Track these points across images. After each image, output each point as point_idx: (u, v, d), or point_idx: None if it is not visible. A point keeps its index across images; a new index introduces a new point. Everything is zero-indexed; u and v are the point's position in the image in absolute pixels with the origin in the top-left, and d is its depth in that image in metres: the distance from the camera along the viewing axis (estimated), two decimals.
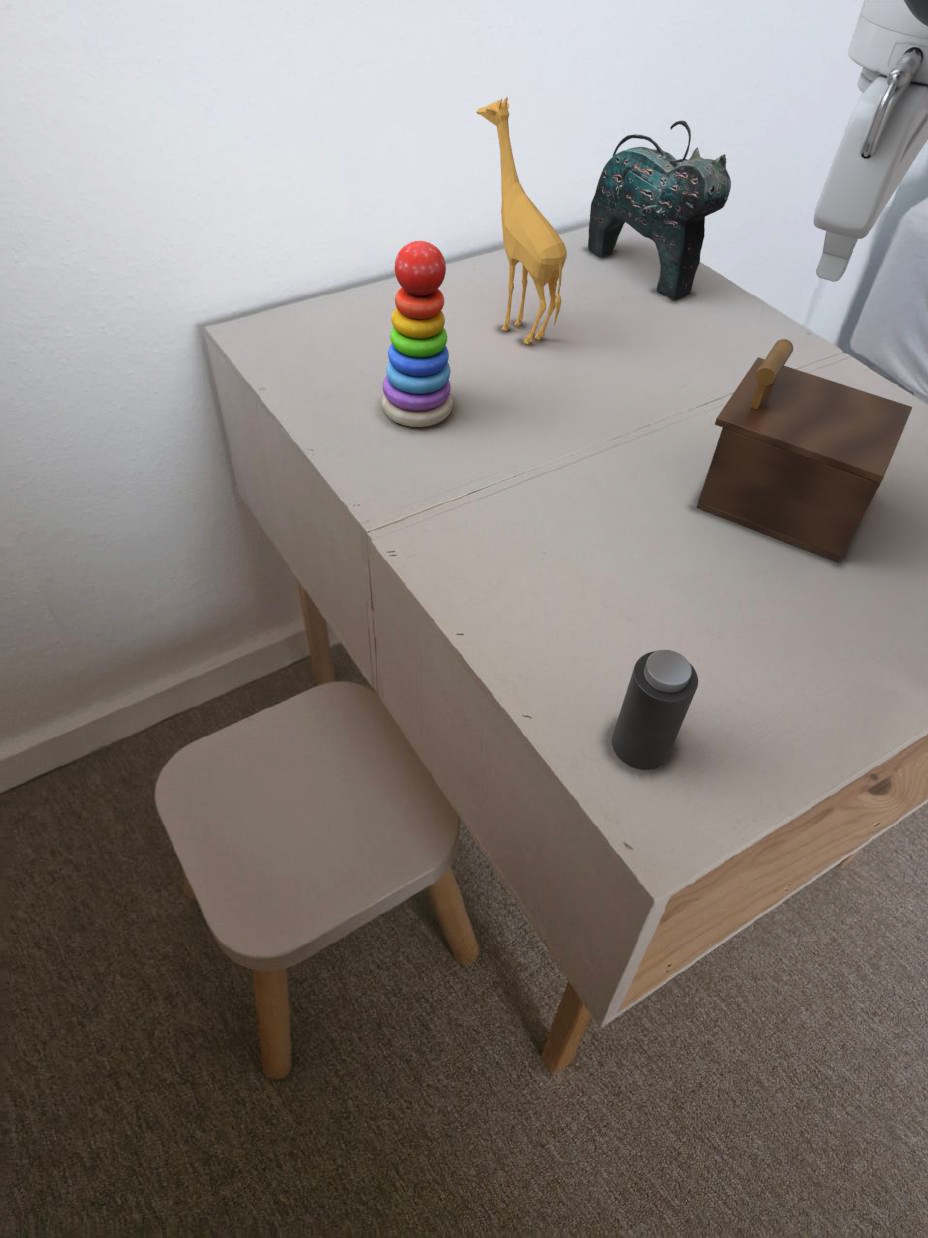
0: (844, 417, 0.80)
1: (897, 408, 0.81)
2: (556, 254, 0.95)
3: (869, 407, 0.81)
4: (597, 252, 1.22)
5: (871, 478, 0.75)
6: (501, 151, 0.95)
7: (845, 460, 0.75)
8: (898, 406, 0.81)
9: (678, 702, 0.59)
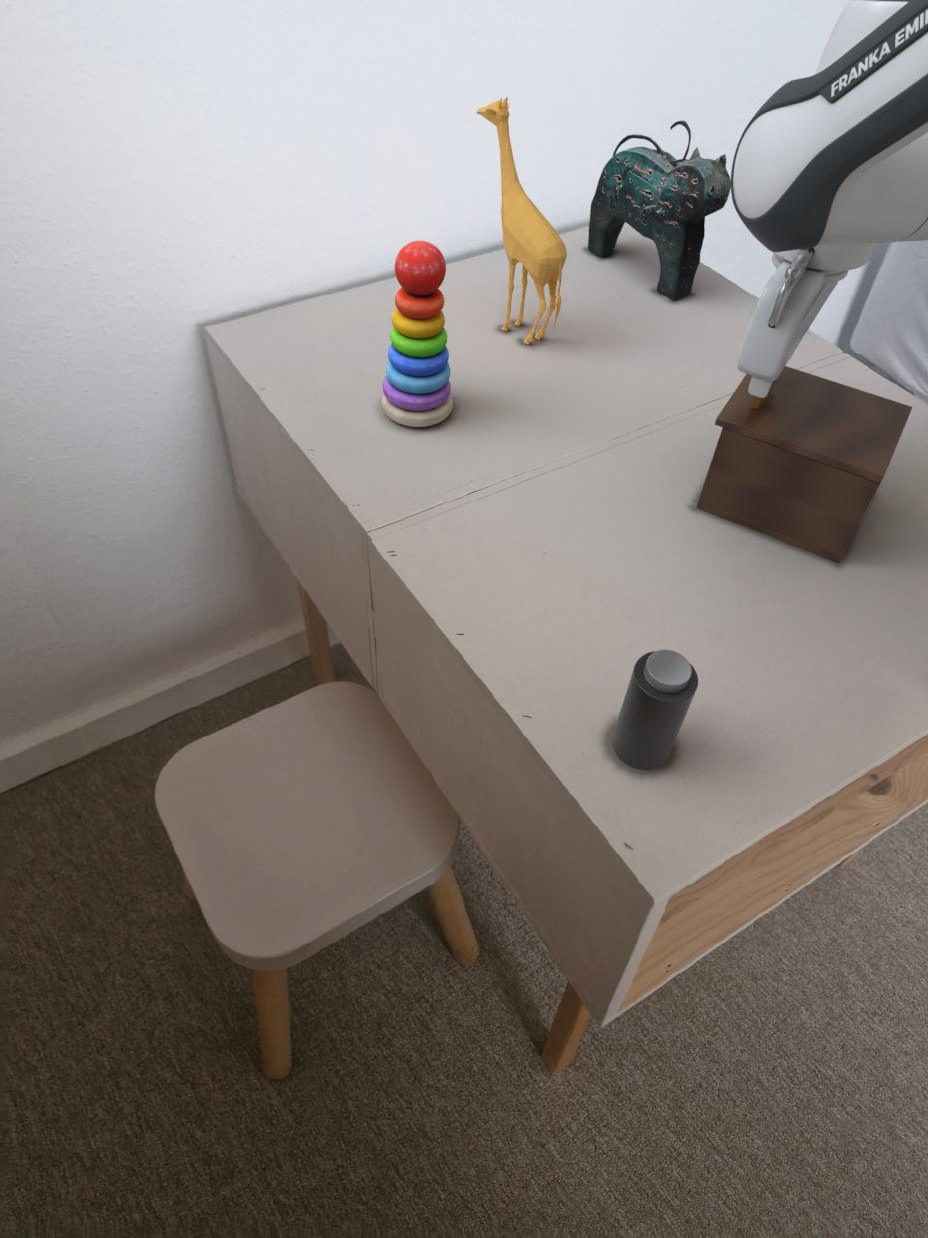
0: (844, 417, 0.80)
1: (897, 408, 0.81)
2: (556, 254, 0.95)
3: (869, 407, 0.81)
4: (597, 252, 1.22)
5: (871, 478, 0.75)
6: (501, 151, 0.95)
7: (845, 460, 0.75)
8: (898, 406, 0.81)
9: (678, 702, 0.59)
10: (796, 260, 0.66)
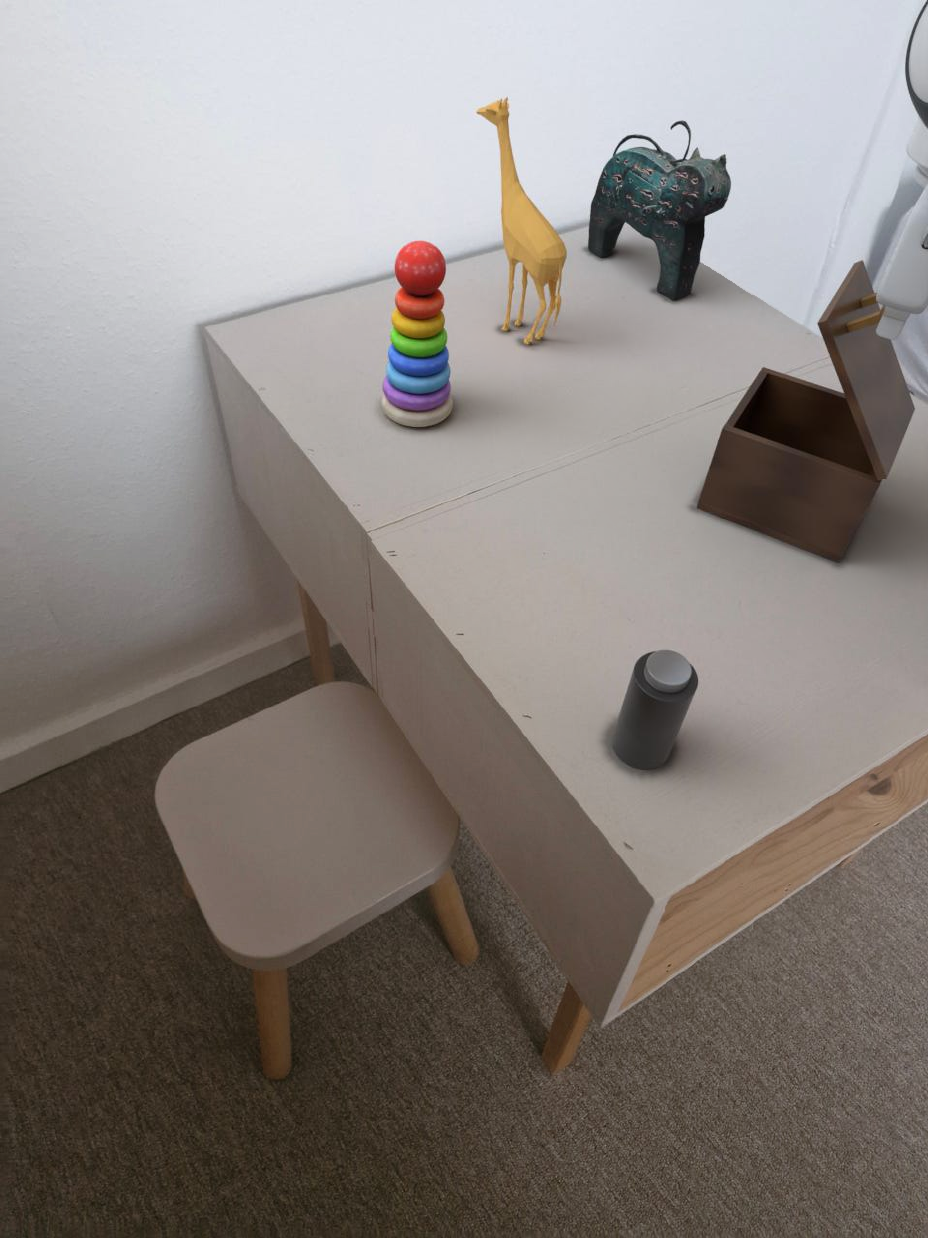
0: (885, 389, 0.76)
1: (909, 403, 0.80)
2: (556, 254, 0.95)
3: (898, 389, 0.78)
4: (597, 252, 1.22)
5: (876, 472, 0.74)
6: (501, 151, 0.95)
7: (875, 443, 0.73)
8: (910, 402, 0.80)
9: (678, 702, 0.59)
10: None
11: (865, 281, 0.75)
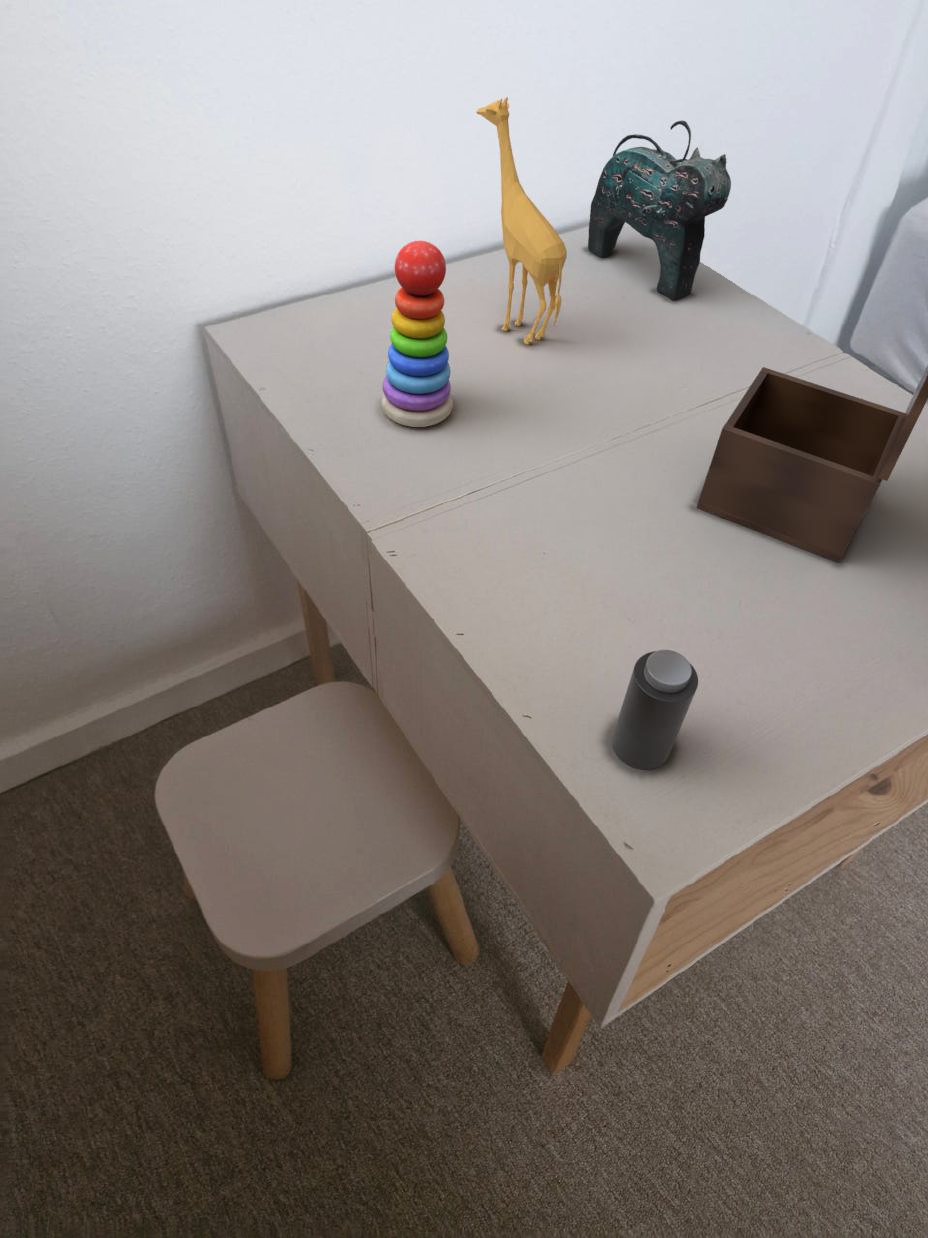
0: None
1: None
2: (556, 254, 0.95)
3: None
4: (597, 252, 1.22)
5: (883, 471, 0.74)
6: (501, 151, 0.95)
7: (903, 446, 0.72)
8: None
9: (678, 702, 0.59)
10: None
11: None
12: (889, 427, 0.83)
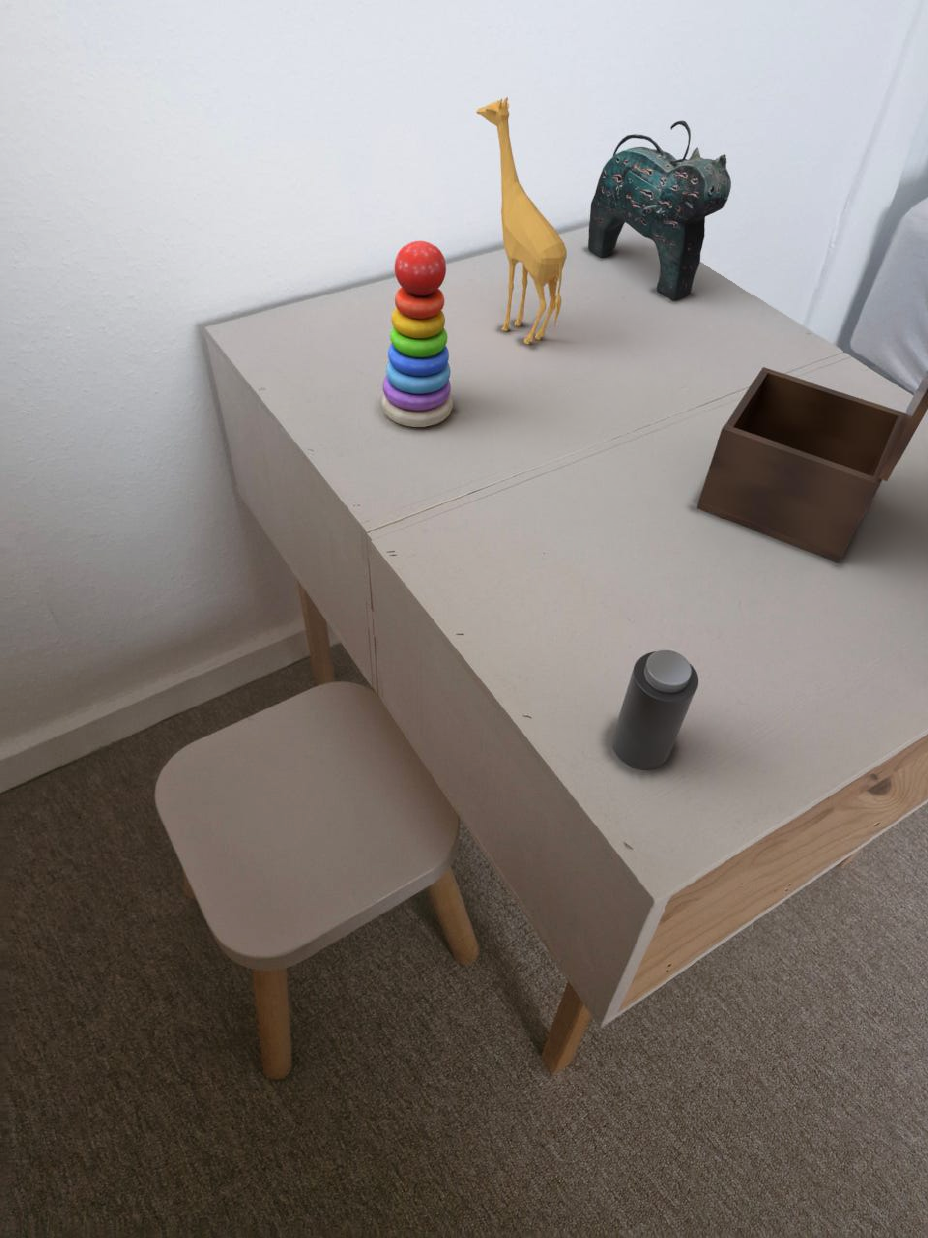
0: None
1: None
2: (556, 254, 0.95)
3: None
4: (597, 252, 1.22)
5: (884, 471, 0.74)
6: (501, 151, 0.95)
7: (905, 447, 0.72)
8: None
9: (678, 702, 0.59)
10: None
11: None
12: (889, 427, 0.83)
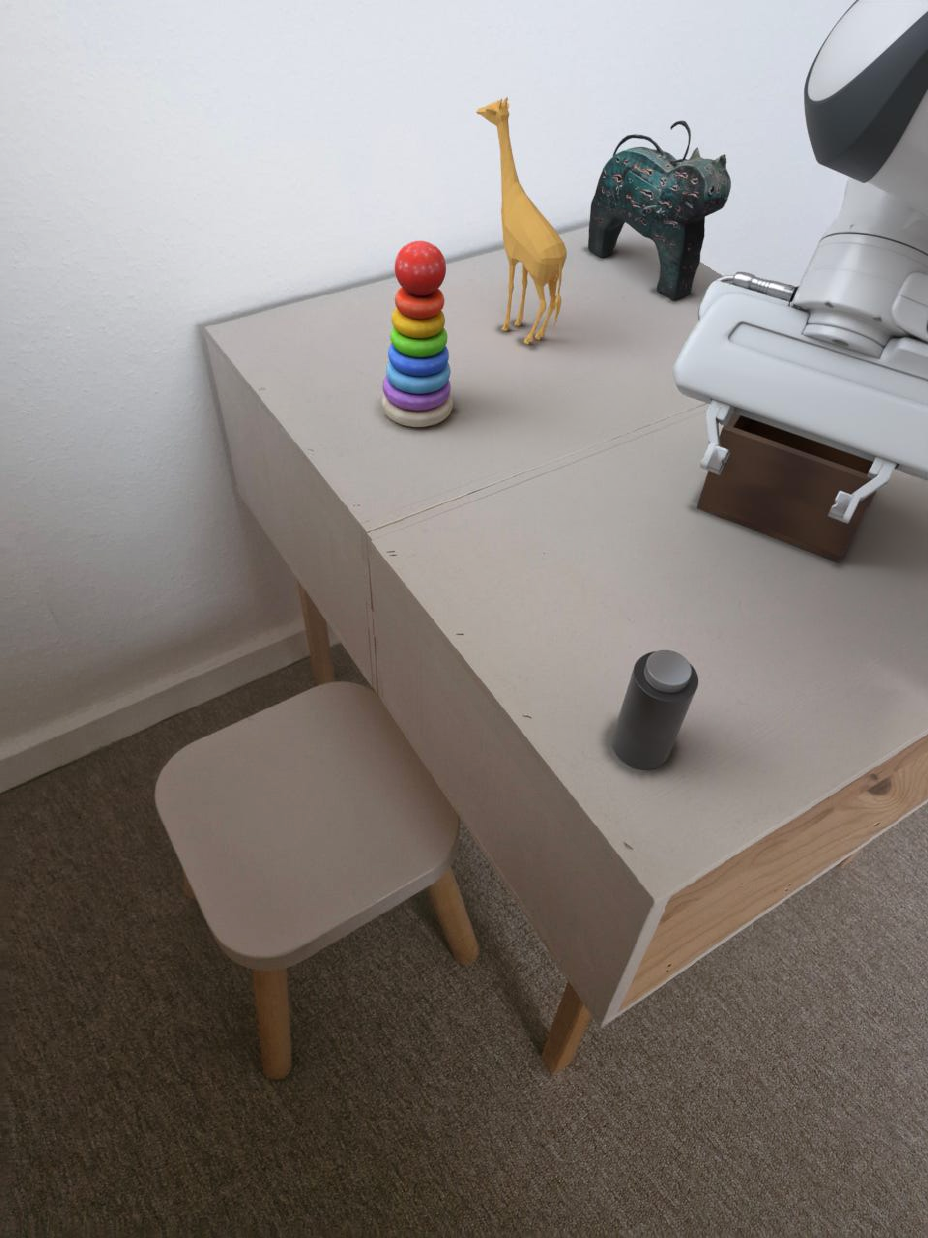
0: None
1: None
2: (556, 254, 0.95)
3: None
4: (597, 252, 1.22)
5: None
6: (501, 151, 0.95)
7: None
8: None
9: (678, 702, 0.59)
10: None
11: None
12: None
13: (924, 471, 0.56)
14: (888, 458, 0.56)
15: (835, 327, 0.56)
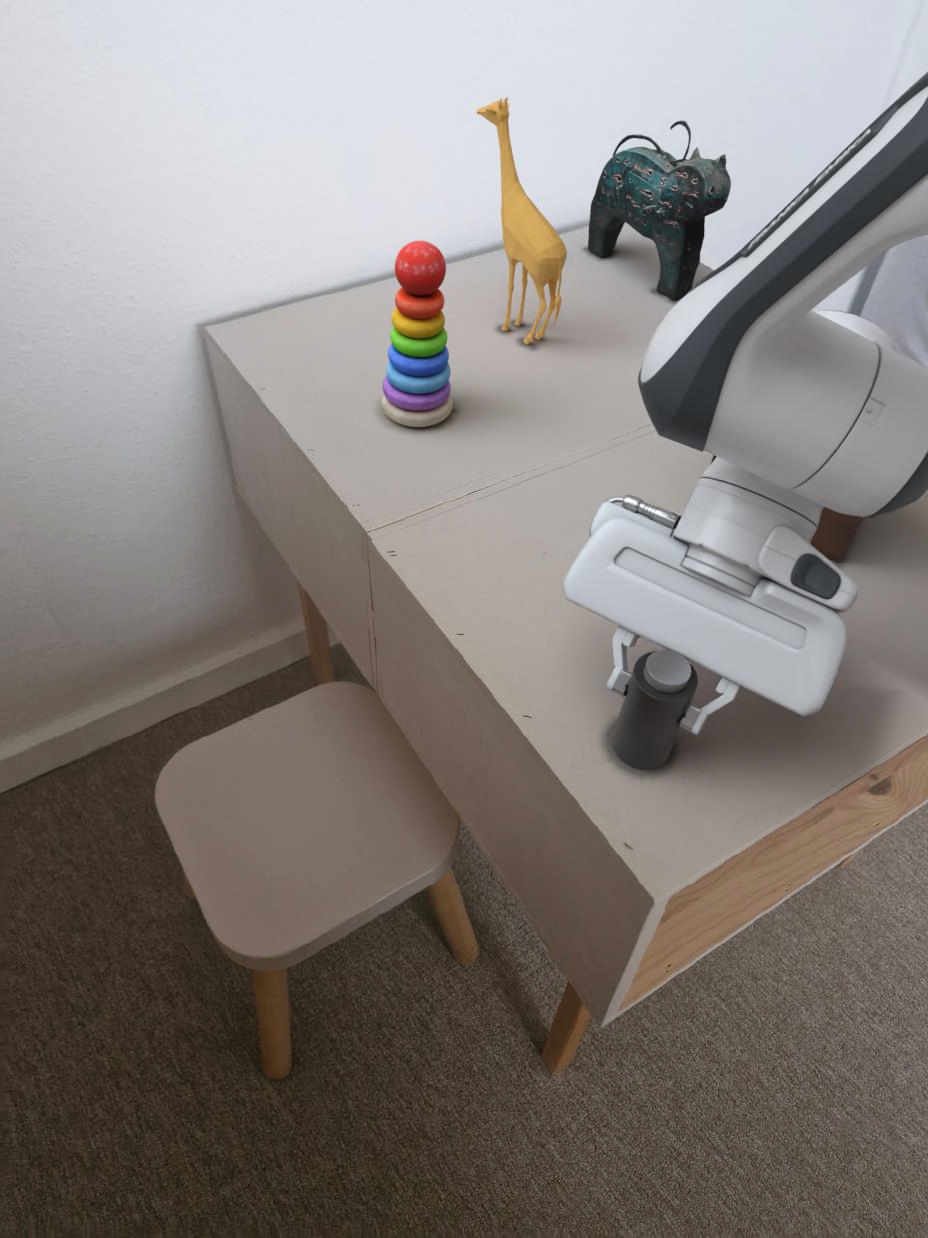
0: None
1: None
2: (556, 254, 0.95)
3: None
4: (597, 252, 1.22)
5: None
6: (501, 151, 0.95)
7: None
8: None
9: (678, 702, 0.59)
10: None
11: None
12: None
13: None
14: (756, 692, 0.59)
15: (709, 566, 0.59)
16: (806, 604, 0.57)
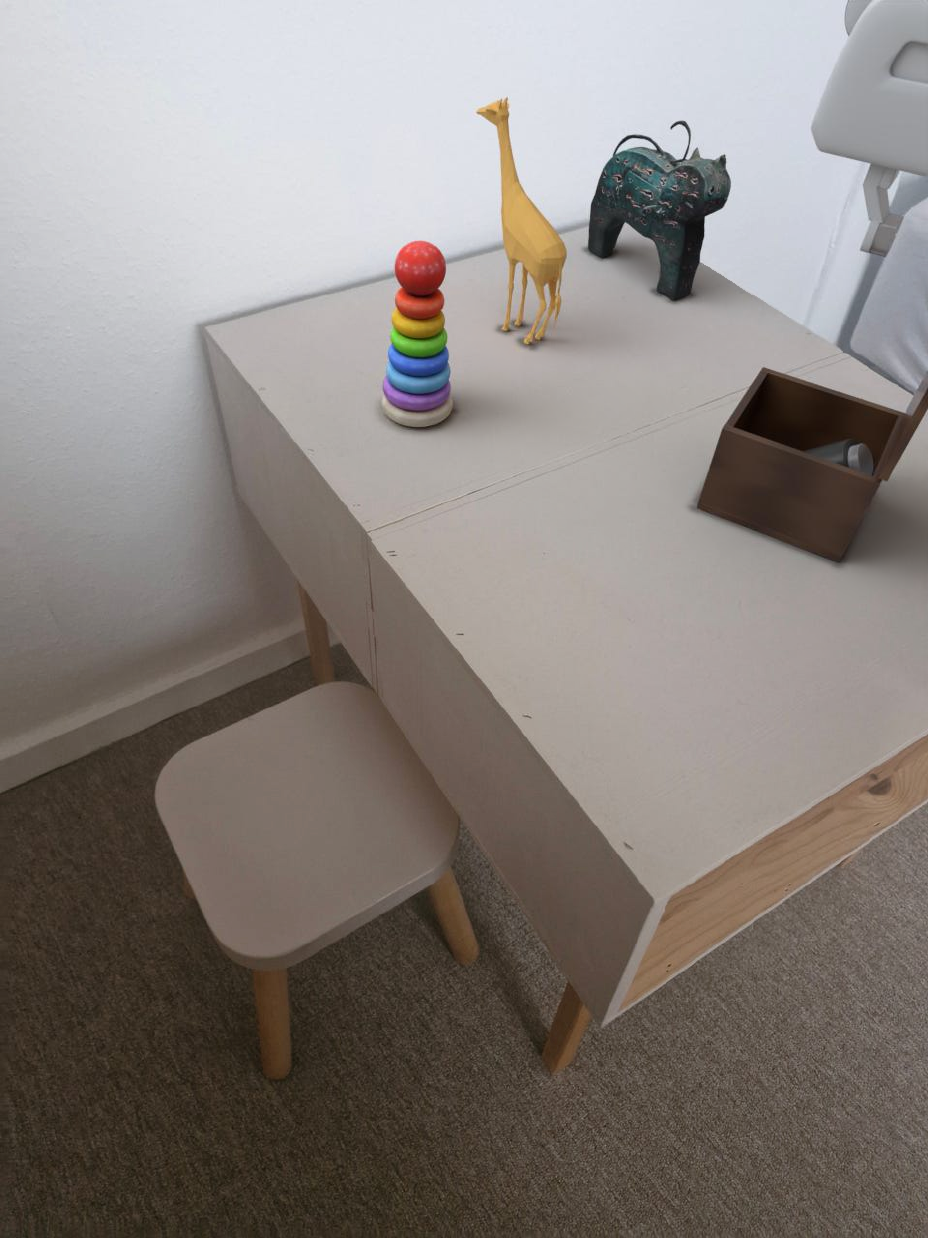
0: None
1: None
2: (556, 254, 0.95)
3: None
4: (597, 252, 1.22)
5: (884, 471, 0.74)
6: (501, 151, 0.95)
7: (905, 447, 0.72)
8: None
9: None
10: None
11: None
12: (889, 427, 0.83)
13: None
14: None
15: None
16: None
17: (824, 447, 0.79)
